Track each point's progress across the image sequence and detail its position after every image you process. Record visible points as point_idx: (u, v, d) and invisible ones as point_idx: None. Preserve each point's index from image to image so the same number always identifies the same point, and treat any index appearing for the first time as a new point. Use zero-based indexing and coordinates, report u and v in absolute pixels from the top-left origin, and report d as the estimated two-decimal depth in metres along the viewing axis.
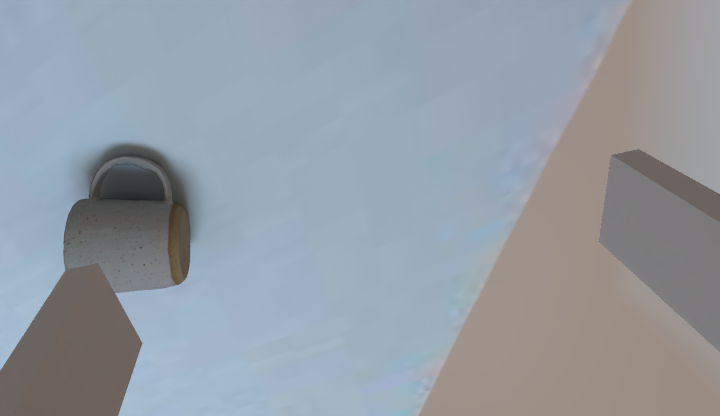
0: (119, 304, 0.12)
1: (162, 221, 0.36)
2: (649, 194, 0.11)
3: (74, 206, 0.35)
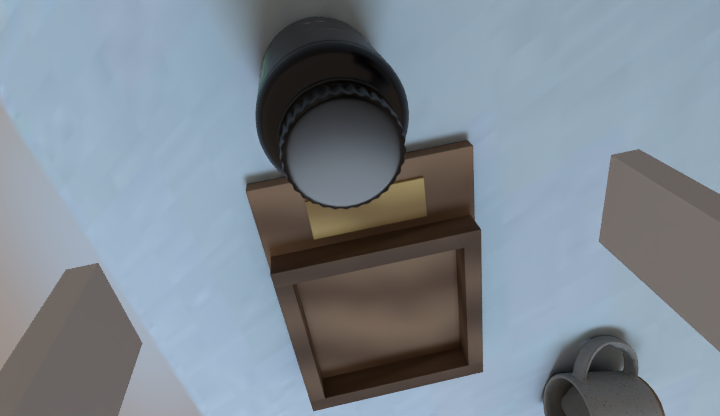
0: (119, 305, 0.12)
1: (654, 402, 0.41)
2: (649, 194, 0.11)
3: (583, 391, 0.41)
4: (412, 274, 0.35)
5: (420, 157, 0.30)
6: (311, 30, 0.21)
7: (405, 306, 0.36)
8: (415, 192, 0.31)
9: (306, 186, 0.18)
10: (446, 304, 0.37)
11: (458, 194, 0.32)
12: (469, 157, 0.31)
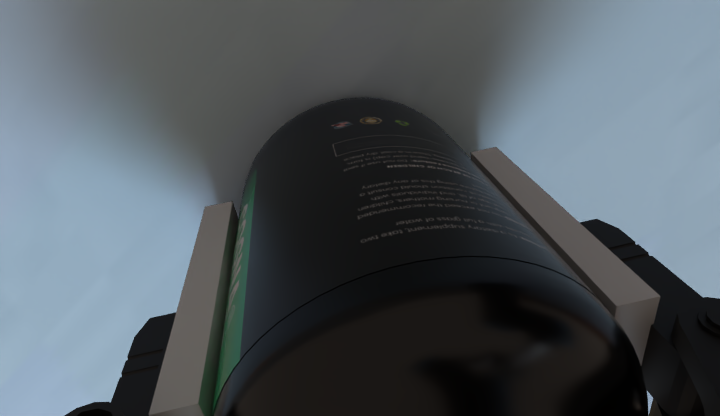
0: None
1: None
2: None
3: None
4: None
5: None
6: (361, 170, 0.08)
7: None
8: None
9: None
10: None
11: None
12: None
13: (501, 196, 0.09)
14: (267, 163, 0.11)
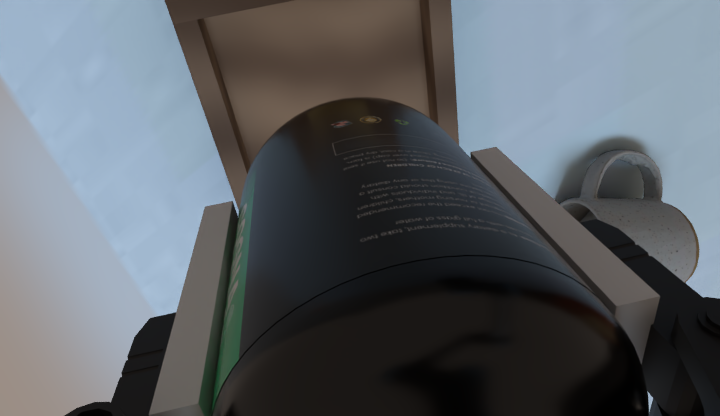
0: None
1: (684, 222, 0.32)
2: None
3: (594, 206, 0.32)
4: (365, 40, 0.27)
5: None
6: (361, 169, 0.08)
7: (359, 94, 0.29)
8: None
9: None
10: (411, 93, 0.29)
11: None
12: None
13: (501, 195, 0.09)
14: (266, 162, 0.11)
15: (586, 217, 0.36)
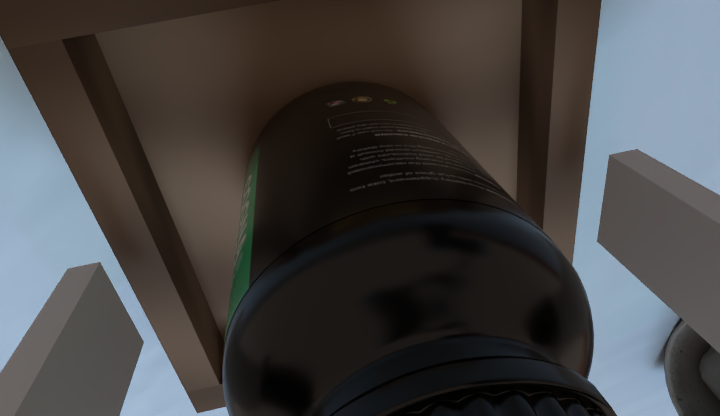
0: (120, 304, 0.12)
1: None
2: (647, 194, 0.11)
3: None
4: (414, 79, 0.14)
5: None
6: (352, 138, 0.10)
7: None
8: None
9: None
10: (490, 170, 0.16)
11: None
12: None
13: (475, 162, 0.10)
14: (269, 138, 0.12)
15: None
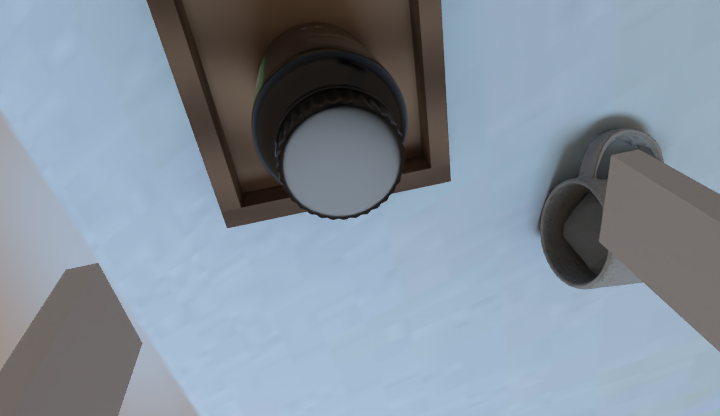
0: (119, 305, 0.12)
1: None
2: (649, 194, 0.11)
3: (593, 185, 0.30)
4: (350, 22, 0.26)
5: None
6: (308, 36, 0.21)
7: None
8: None
9: (303, 196, 0.17)
10: (399, 80, 0.28)
11: None
12: None
13: (366, 49, 0.22)
14: (270, 48, 0.24)
15: (584, 200, 0.34)
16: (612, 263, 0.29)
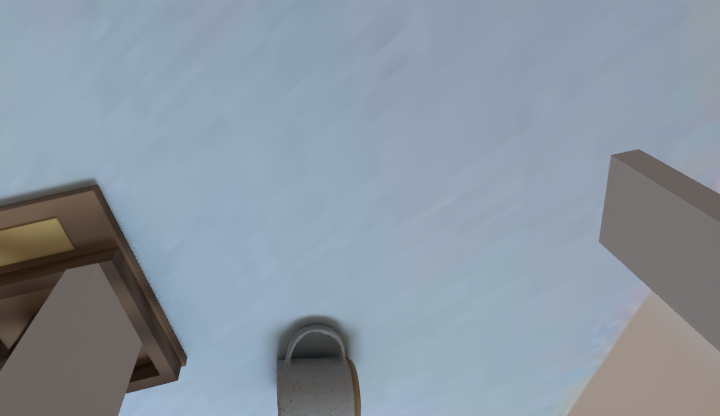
0: (118, 304, 0.12)
1: (348, 384, 0.45)
2: (649, 194, 0.11)
3: (280, 374, 0.44)
4: None
5: (47, 201, 0.36)
6: None
7: None
8: (54, 230, 0.37)
9: None
10: None
11: (98, 230, 0.37)
12: (94, 200, 0.36)
13: None
14: None
15: None
16: None
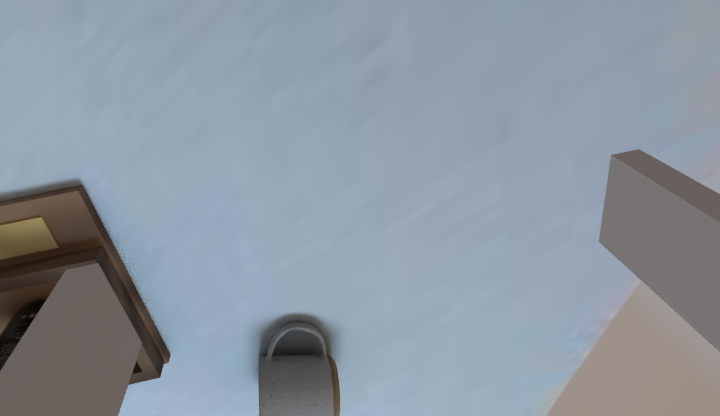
0: (119, 304, 0.12)
1: (328, 381, 0.46)
2: (649, 195, 0.11)
3: (260, 370, 0.45)
4: None
5: (32, 200, 0.36)
6: (9, 339, 0.36)
7: None
8: (38, 228, 0.37)
9: None
10: None
11: (83, 229, 0.38)
12: (79, 200, 0.37)
13: None
14: (6, 325, 0.39)
15: None
16: None
